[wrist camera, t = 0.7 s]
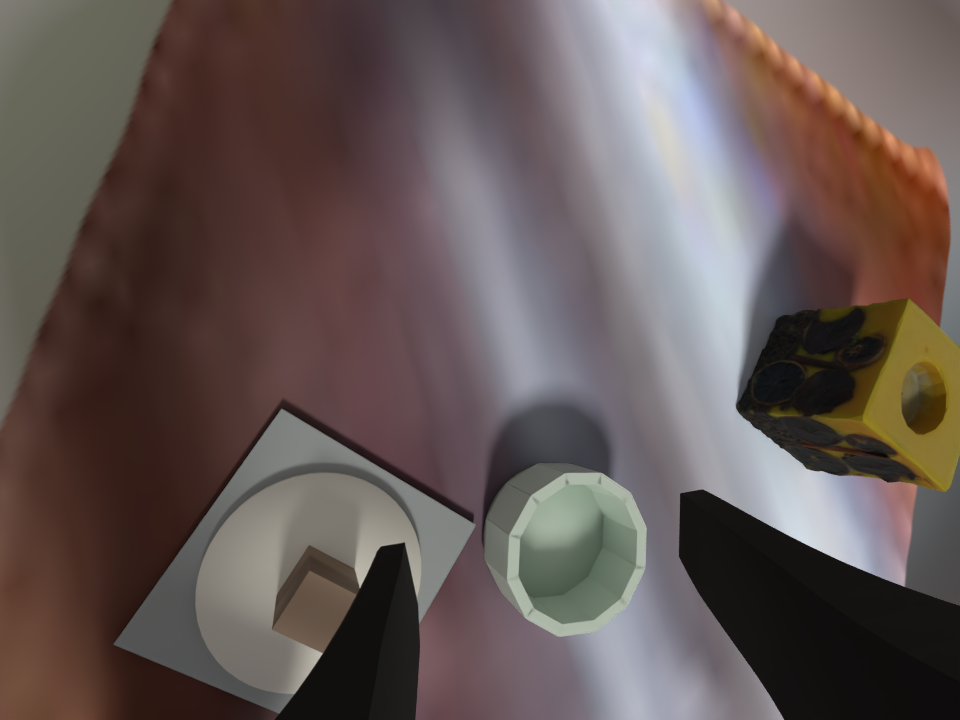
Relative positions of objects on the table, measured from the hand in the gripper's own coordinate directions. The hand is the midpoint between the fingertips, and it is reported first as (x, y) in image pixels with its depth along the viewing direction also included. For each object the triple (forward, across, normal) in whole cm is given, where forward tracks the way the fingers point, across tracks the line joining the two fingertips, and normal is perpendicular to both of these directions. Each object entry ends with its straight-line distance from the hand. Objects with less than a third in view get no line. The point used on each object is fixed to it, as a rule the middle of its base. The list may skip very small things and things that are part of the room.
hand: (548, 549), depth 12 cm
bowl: (+17, -3, +14) cm, 22 cm away
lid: (+13, +11, +11) cm, 21 cm away
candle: (+26, -27, +11) cm, 39 cm away
